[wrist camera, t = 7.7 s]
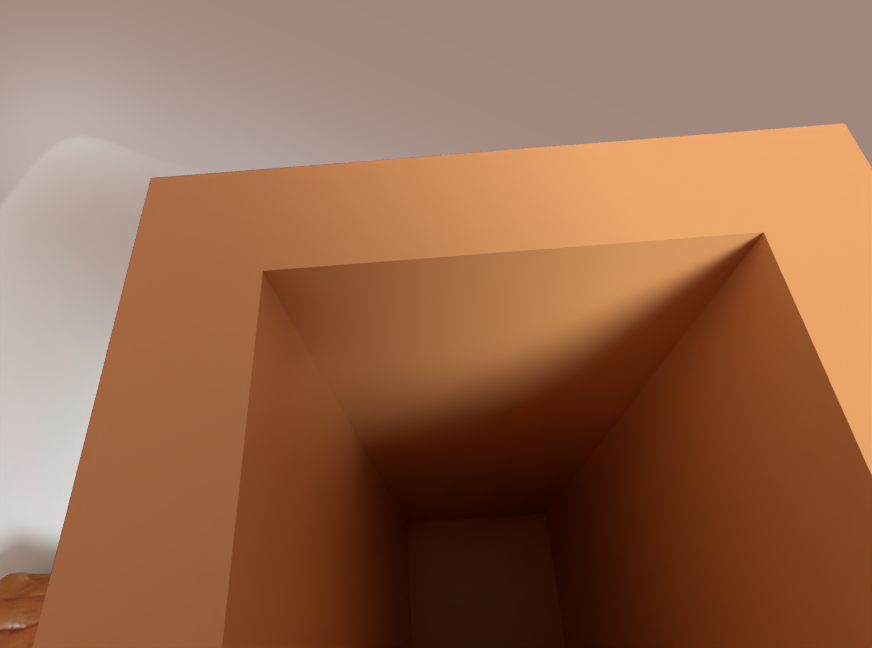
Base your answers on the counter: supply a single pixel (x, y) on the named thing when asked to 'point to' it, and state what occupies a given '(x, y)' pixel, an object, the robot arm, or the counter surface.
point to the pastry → (21, 608)
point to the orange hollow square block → (488, 405)
